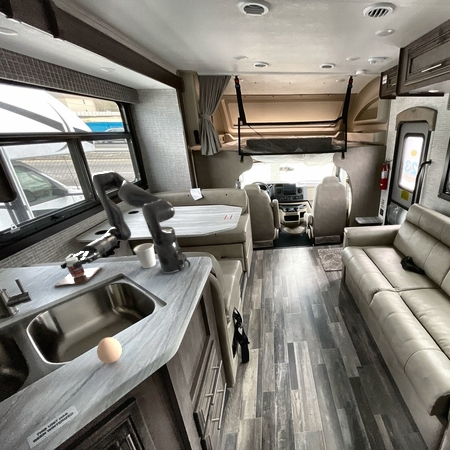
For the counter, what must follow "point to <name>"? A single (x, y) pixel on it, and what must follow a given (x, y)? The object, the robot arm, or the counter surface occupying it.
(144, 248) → the dixie cup
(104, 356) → the egg
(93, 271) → the mat
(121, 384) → the counter surface
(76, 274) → the pill bottle
